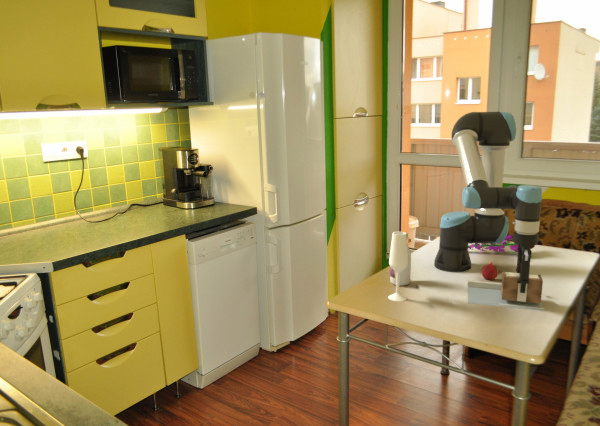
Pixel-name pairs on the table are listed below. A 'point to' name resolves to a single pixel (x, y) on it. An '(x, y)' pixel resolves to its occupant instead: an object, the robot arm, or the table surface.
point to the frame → (511, 287)
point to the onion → (489, 271)
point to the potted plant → (496, 245)
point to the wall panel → (495, 296)
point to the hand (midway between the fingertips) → (520, 297)
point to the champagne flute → (398, 260)
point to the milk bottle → (405, 273)
